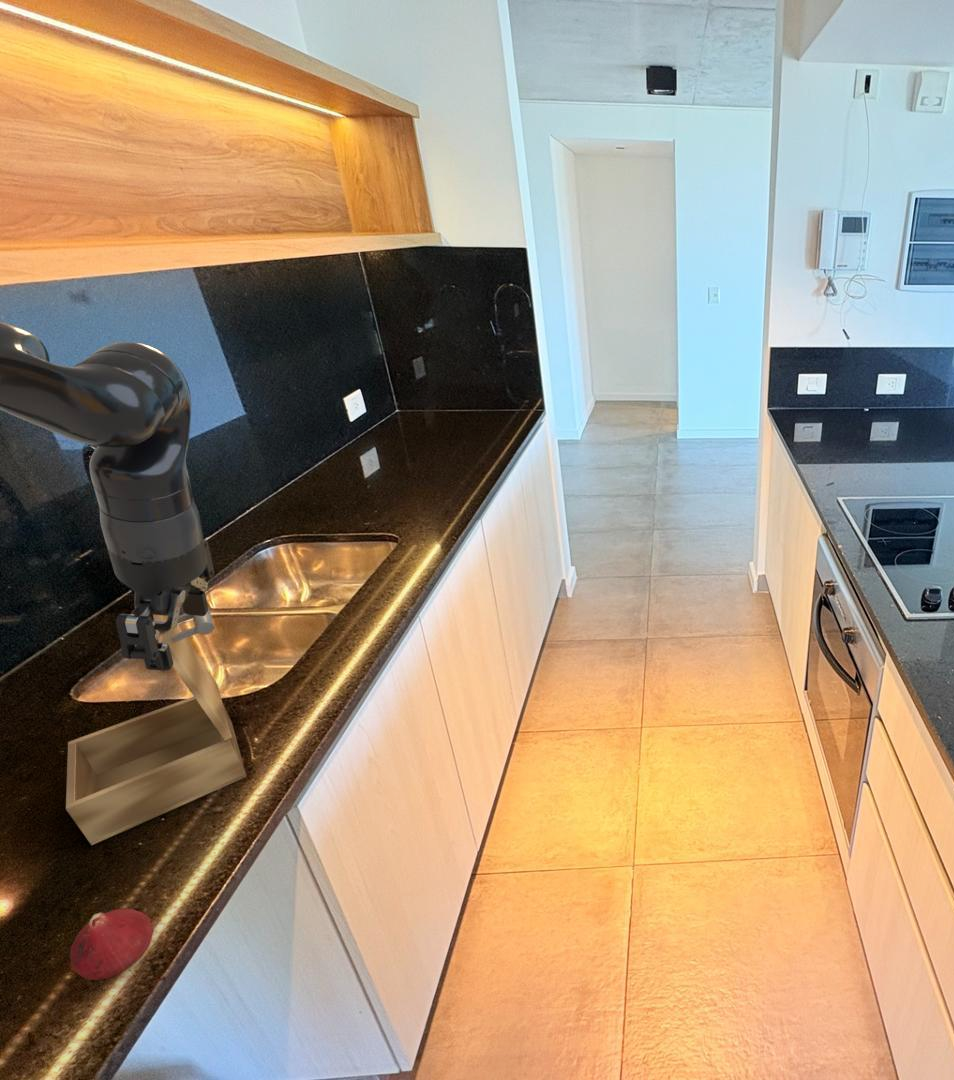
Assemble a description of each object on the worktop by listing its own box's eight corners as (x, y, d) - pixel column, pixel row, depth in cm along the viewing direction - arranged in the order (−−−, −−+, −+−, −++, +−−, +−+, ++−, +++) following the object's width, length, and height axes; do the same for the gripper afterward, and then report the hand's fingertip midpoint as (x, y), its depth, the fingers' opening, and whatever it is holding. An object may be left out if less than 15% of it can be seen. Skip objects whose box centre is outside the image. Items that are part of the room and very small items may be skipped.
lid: (157, 645, 71) (209, 625, 74) (149, 596, 80) (196, 580, 83) (224, 740, 80) (268, 719, 83) (211, 687, 89) (251, 670, 92)
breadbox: (92, 847, 74) (65, 809, 71) (91, 778, 83) (67, 741, 80) (247, 778, 84) (229, 741, 80) (232, 723, 92) (215, 688, 89)
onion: (115, 1005, 60) (76, 958, 56) (76, 983, 61) (35, 937, 57) (178, 945, 64) (146, 899, 61) (141, 926, 66) (107, 880, 62)
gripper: (147, 489, 68) (171, 593, 77) (65, 575, 57) (103, 685, 66) (228, 502, 71) (242, 601, 80) (164, 586, 60) (188, 690, 69)
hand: (179, 639), depth 73 cm, fingers open, 8 cm apart
